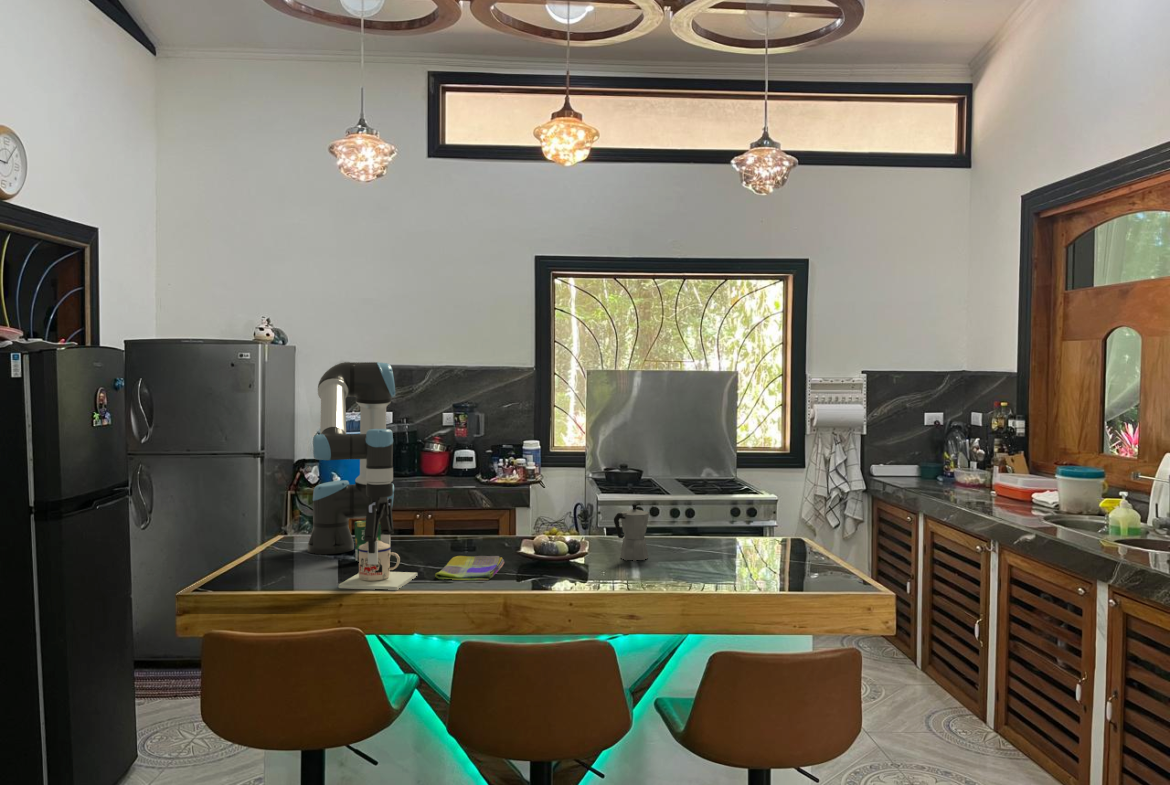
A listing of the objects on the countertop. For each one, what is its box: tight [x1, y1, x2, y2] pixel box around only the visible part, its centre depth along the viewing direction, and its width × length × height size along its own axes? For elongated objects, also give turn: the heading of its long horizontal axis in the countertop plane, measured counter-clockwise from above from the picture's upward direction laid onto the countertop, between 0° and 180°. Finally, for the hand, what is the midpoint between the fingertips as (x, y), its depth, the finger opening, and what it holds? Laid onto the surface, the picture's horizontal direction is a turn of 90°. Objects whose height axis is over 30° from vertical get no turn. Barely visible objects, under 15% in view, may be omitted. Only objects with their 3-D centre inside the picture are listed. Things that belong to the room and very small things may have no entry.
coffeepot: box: [613, 503, 651, 562], centre depth 269 cm, size 15×9×18 cm, turn 129°
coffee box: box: [354, 520, 382, 563], centre depth 264 cm, size 8×3×13 cm, turn 121°
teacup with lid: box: [358, 537, 401, 581], centre depth 237 cm, size 12×9×12 cm
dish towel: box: [434, 555, 505, 582], centre depth 252 cm, size 18×24×3 cm
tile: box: [338, 571, 418, 591], centre depth 237 cm, size 17×17×1 cm
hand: (379, 560), depth 237 cm, fingers closed on teacup with lid, 9 cm apart
